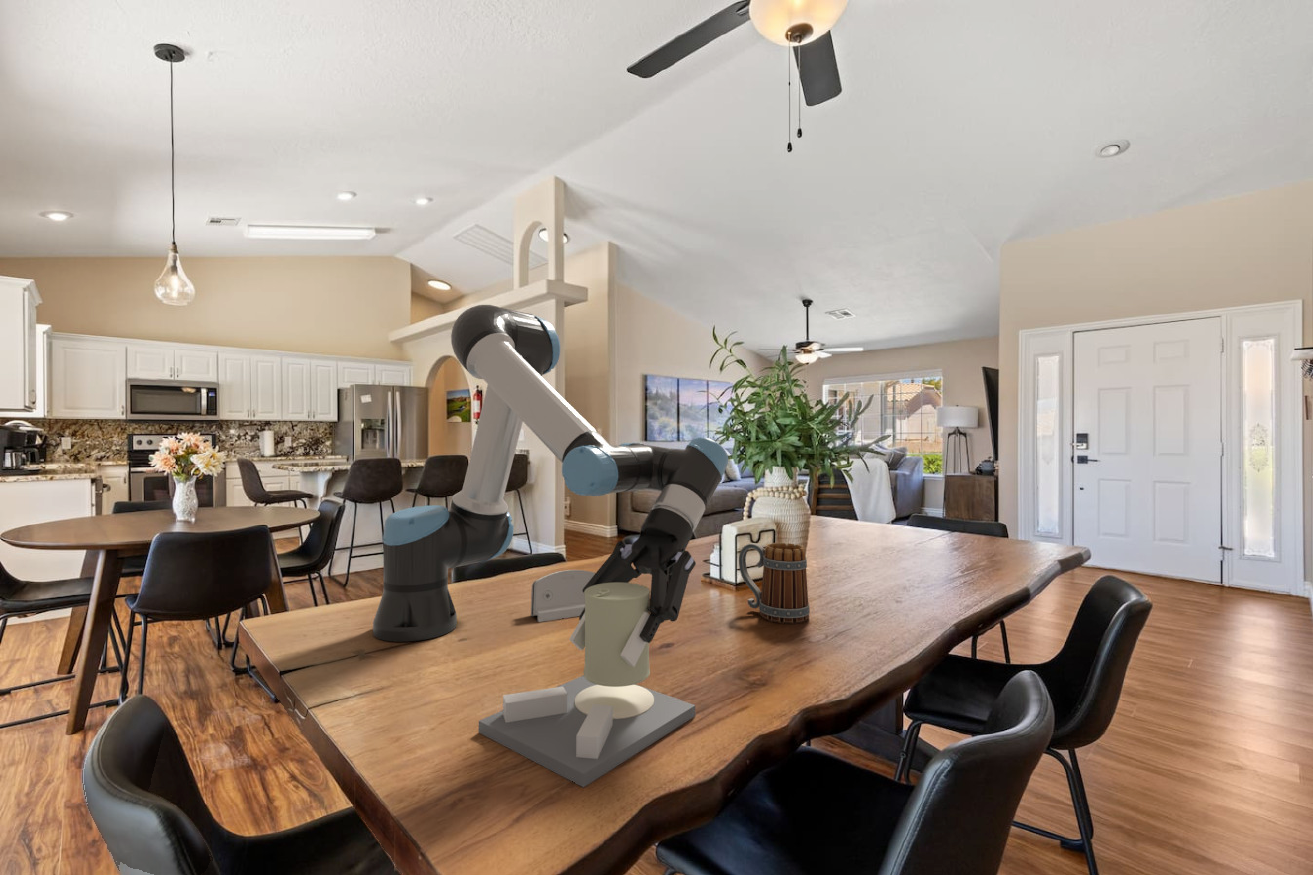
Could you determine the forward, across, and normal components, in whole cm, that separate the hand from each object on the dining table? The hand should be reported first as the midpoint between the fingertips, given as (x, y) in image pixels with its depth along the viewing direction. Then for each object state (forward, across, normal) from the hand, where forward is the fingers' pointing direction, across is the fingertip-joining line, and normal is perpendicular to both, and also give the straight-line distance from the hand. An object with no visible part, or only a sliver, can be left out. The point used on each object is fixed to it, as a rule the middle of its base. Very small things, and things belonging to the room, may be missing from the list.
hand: (600, 652), depth 81 cm
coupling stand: (+8, 0, -5) cm, 9 cm away
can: (+1, 0, -5) cm, 5 cm away
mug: (-34, +4, -48) cm, 59 cm away
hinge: (-15, +39, -29) cm, 51 cm away
